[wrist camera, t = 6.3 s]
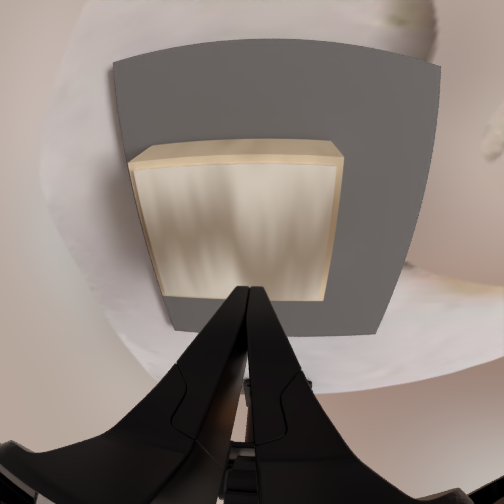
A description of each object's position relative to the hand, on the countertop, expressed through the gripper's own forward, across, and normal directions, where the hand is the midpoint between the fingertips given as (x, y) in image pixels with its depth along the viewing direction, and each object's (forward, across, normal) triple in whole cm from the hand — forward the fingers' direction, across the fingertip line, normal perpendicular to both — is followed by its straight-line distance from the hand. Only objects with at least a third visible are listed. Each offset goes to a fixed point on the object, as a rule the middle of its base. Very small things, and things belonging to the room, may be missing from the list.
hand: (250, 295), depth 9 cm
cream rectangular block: (+4, -3, 0) cm, 5 cm away
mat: (+6, -1, +1) cm, 7 cm away
